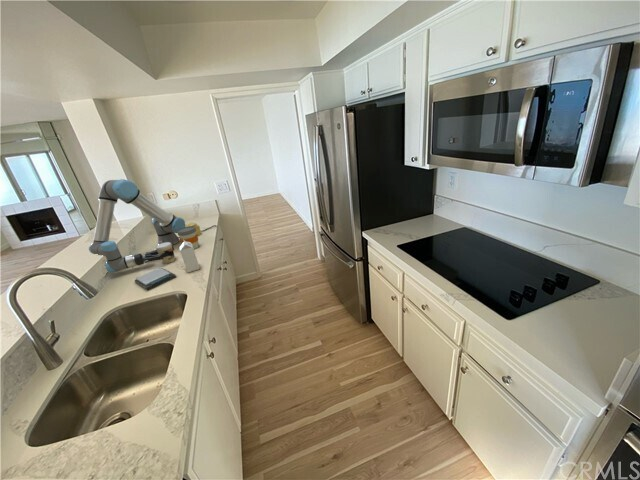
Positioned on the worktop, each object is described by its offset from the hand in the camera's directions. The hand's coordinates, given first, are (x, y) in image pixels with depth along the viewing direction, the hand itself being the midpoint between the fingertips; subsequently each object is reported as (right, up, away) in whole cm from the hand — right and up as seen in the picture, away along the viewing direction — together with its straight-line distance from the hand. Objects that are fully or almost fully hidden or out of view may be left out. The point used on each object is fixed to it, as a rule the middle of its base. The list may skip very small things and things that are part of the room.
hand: (173, 250), depth 180 cm
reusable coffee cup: (+4, +1, +18) cm, 19 cm away
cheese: (-7, +10, +43) cm, 45 cm away
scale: (+2, -17, -23) cm, 29 cm away
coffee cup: (-3, -7, +1) cm, 8 cm away
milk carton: (+21, -11, -15) cm, 28 cm away
